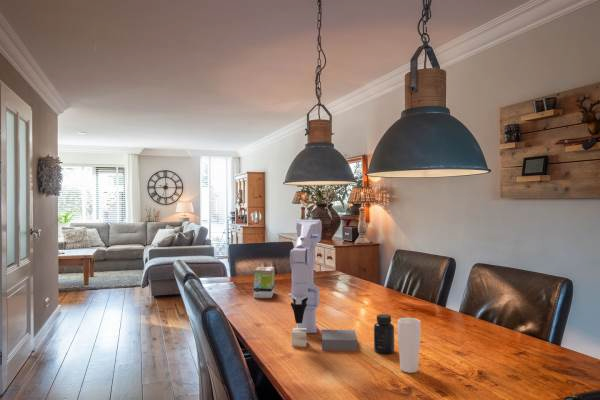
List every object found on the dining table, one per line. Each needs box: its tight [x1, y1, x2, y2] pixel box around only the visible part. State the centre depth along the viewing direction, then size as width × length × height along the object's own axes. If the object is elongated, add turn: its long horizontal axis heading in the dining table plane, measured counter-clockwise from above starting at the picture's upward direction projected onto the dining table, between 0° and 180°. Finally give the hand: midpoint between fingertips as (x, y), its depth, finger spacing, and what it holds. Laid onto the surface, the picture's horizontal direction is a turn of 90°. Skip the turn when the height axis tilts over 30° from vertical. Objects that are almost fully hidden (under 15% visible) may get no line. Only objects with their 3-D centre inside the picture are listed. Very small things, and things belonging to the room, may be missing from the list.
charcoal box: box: [321, 329, 358, 352], centre depth 157 cm, size 12×12×4 cm
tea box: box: [253, 266, 276, 299], centre depth 242 cm, size 15×10×15 cm, turn 179°
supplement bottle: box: [373, 313, 395, 355], centre depth 151 cm, size 7×7×12 cm
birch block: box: [291, 327, 308, 348], centre depth 158 cm, size 5×5×5 cm
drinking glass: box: [397, 317, 422, 374], centre depth 134 cm, size 7×7×15 cm
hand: (299, 320), depth 158 cm, fingers open, 7 cm apart
